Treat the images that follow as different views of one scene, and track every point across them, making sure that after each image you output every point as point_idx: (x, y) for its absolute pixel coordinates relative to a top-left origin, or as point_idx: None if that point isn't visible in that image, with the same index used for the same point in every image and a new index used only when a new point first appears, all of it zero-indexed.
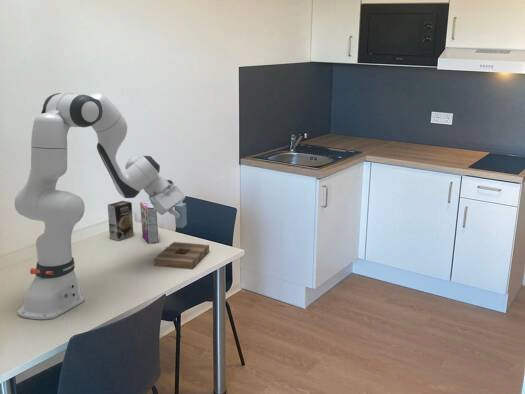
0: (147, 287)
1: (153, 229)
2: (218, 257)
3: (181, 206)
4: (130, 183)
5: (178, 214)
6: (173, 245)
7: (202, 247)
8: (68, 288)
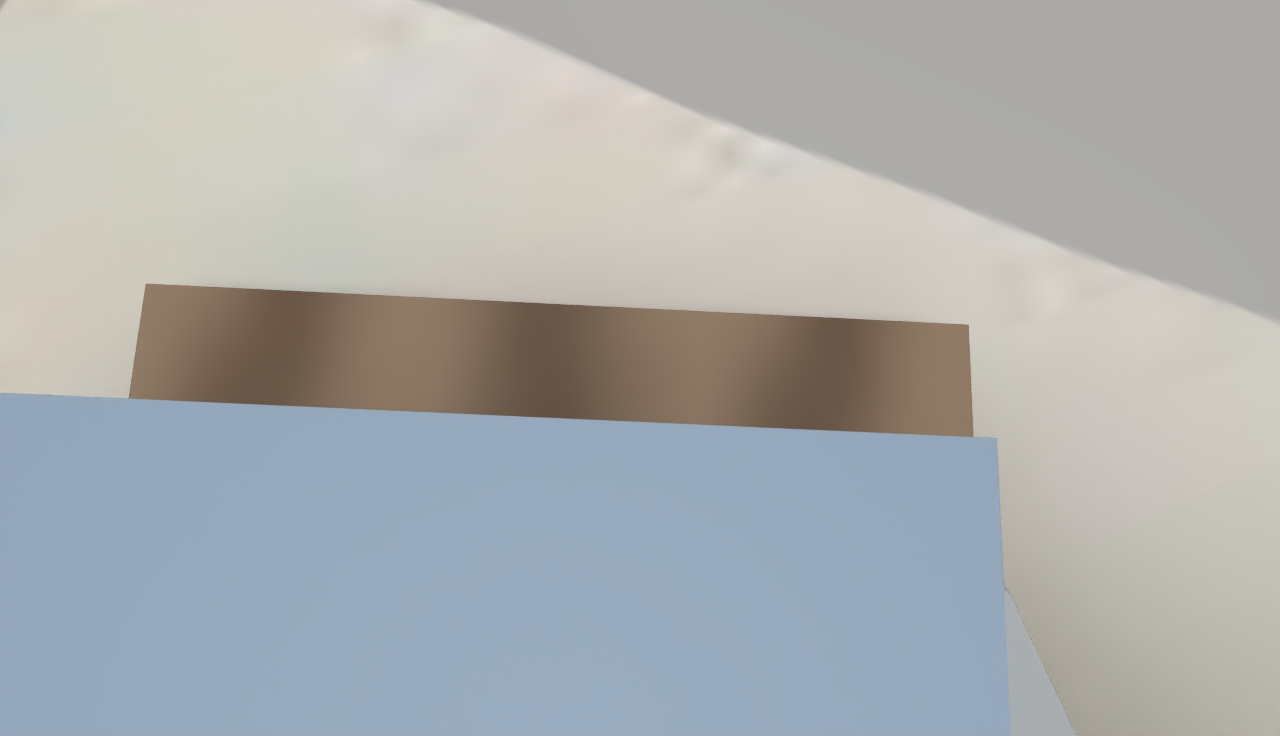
0: None
1: None
2: (418, 125)
3: (989, 464)
4: None
5: (1033, 645)
6: None
7: (293, 357)
8: None
